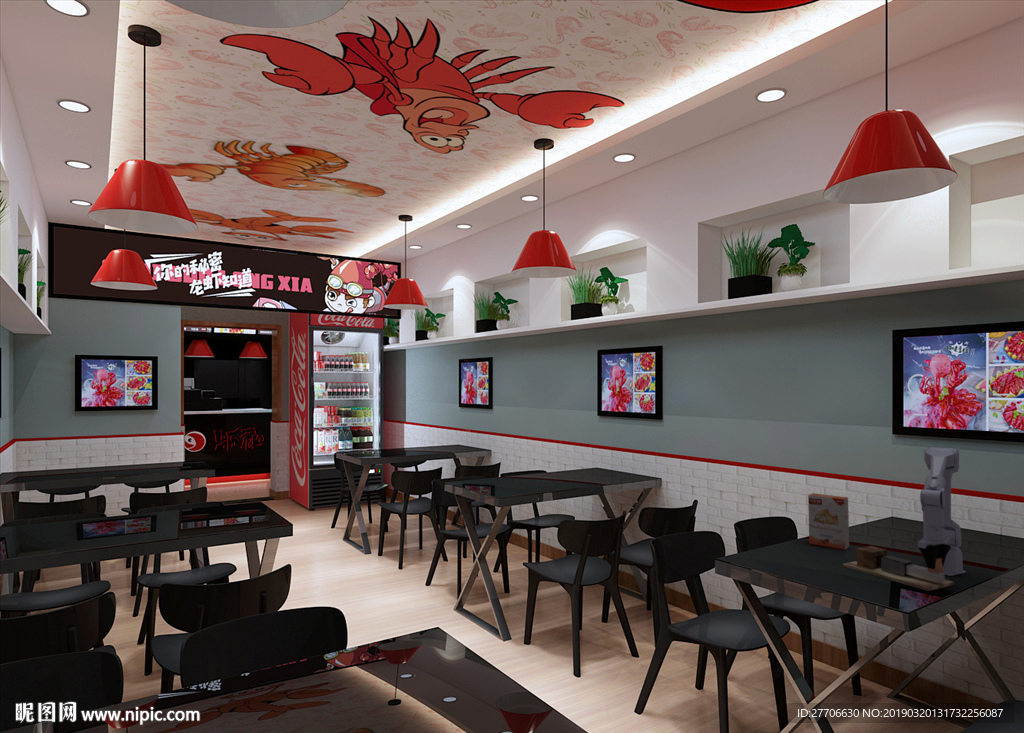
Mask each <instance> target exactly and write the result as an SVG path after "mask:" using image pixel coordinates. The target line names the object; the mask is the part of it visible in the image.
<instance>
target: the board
mask: <svg viewBox="0 0 1024 733" xmlns="http://www.w3.org/2000/svg"><path fill="white" fill-rule="evenodd" d="M842 567H843V568H847V569H850V570H854V571H858V572H861V573H864V574H867V575H871V576H875V577H878V578H882V579H885V580H888V581H891V582H896V583H899V584H902V585H906V586H909V587H913V588H917V589H920V590H924V591H927V592H930V591H933V590H939V589H942V588H945V587H949V586H954V585H955V581H953V580H948V579H946V578H945V582H941V583H938V582H934V581H931V580H927V579H923V578H919V577H916V576H912V575H910V576H906V577H903V576H899V575H896V574H892V573H889V572H885V571H881V568H878V569H869V568H865V567H862V566H858V565H857V560H855V561H850V562H845V563H842Z"/></svg>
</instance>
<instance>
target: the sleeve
mask: <svg viewBox="0 0 1024 733" xmlns="http://www.w3.org/2000/svg"><path fill="white" fill-rule="evenodd" d="M907 563H910V564H914V563H913V560H911V559H906V558H902V557H899V556H894V555H888V554H887V556H883V557H881V571H885V572H889V573H892V574H896V575H899V576H903V577H906V576H910V575H908V574H905V564H907Z"/></svg>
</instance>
